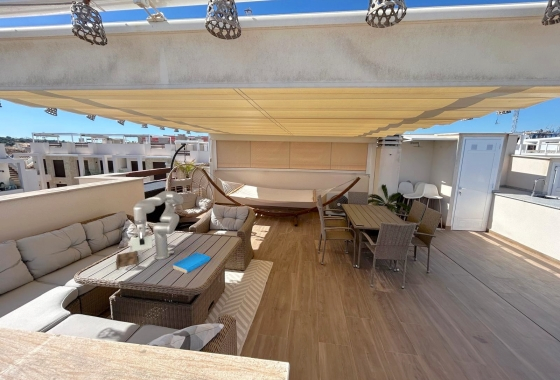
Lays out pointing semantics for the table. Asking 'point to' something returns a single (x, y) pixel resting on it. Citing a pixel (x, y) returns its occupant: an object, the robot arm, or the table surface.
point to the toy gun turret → (131, 246)
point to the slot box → (126, 259)
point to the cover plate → (137, 245)
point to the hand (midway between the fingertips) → (142, 243)
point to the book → (191, 262)
